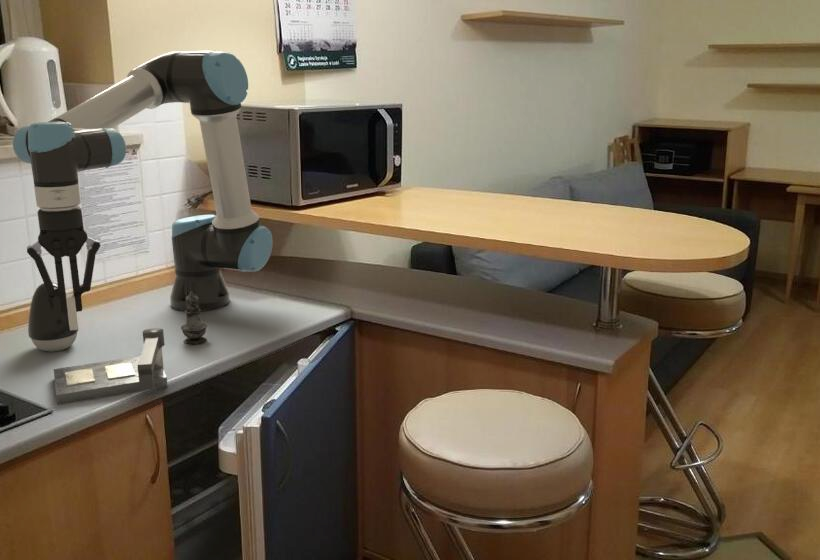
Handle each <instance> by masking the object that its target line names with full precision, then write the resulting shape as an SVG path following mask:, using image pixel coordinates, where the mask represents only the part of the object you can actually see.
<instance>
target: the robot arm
mask: <svg viewBox="0 0 820 560" xmlns="http://www.w3.org/2000/svg"><path fill="white" fill-rule="evenodd" d="M248 90H249V79H248V74H247V71H246V68H245V67H244V64H243V63H242V62H241V60H240V59H238V58H237V56H235V55H234V54H233V53H230V52H226V51H217V50H197V51H196V50H193V51H192V50H191V51H183V50H181V51H179V50H177V51H175V50H174V51H170V52H168V53H164V54H162V55H159V56H156V57H154V58H152V59H150V60H148V61H146V62H144V63H142V64H140V65H139V66H136V67H135V68H133V69H131V70H130V71H129V72H128V74H127V75H126V78H125V79H122V80H121V81H119V82H117V83H116V84H113V85H112V86H110V87H109V88H106V89H105V90H103V91H101V92H99V93H98V94H96V95H95V96H92V97H90V98H89V99H87V100H85V101H83V102H82V103H80V104H78V105H76V106H74V107H73V108H71V109H69V110H67V111H65V112H63V113H61V114H60V115H58V116H56V117H54V118H52V119H51V120H49V121H43V122H41V121H39V122H33V123H31V124H30V125H27V126H23V127H21V128H19V129H18V130H17V131H16V132H15V134H14V136H13V139H12V148H13V151H14V154H15V155H16V157H17V158H18V160H20V161H21V162H24V163H26V164H30V165H31V166H30V167H31V171H32V178H33V179H32V180H33V184H34V185H33V188H34V196H35V201H36V202H35V204H36V207H38V208H39V209H38V211H37V219H38V228H39V235H38V236H37V241H36V242H35V243H33V244H31V245H28V246H27V247H26V253H27V254H28V255H29V257H31V258H32V260H34V262H35V266H36V268H37V270H38V272H39V275H40V276H41V279H42V282H43V283H44V284H45V287H46V289H47V292H48V294H49V295H50V296H57V297H59V300H60V308H61V312H62V313H68V320H69V327H70V330H78V328H79V323H78V316H77V315H78V314H77V313H78V312H82V311H83V302H82V295H83V294H84V293H88V292H90V291H91V288H92V281H93V276H94V275H93V274H94V266H95V261H96V254H97V253H98V251H99V249H100V247H101V243H100V240H98V239H94V238H92V237H89V236H88V233H87V232H86V230H85V229H84V219H83V211H82V210H83V209H82V208H81V207H80V206H79V205H81V192H80V185H79V184H80V183H79V174H78V173H79V172H82V171H89V170H90V171H91V170H96V169H97V170H99V169H104V168H106V169H108V168H110V167H113V166H117V165H119V164H121V163H122V162H123V161H124V159H125V157H126V154H127V146H126V141H125V138H124V137H123V136H122V134H121V133H120V132H119V131H118V130H116V129H114V128H116V127H117V126H119V125H120V124H123V123H124V122H126V121H128V120H129V119H131V118H132V117H133V116H136V115H138V114H139V113H141V112H142V111H144V110H145V109H147V110H148V109H149V110H153V109H156V108H158V107H160V106H161V105H164V104H165V105H166V104H171V103H172V104H173V103H184V104H189V109H190V113H191V116H193V117H194V118H196V119H197V120H198V121H199V126H200V131H201V136H202V140H203V141H202V142H203V146H204V147H203V148H204V153H205V158H206V162H207V163H206V164H207V169H208V173H209V180H210V181H209V182H210V184H211V191H212V195H213V203H214V207H215V208H214V209H215V211H216V212H215V214H201V215H193V216H188V217H184V218H180V219H176V220H175V221H173V223H172V225H171V237H170V238H171V241H172V243H171V244H172V252H173V253H172V255H173V263H174V274H175V275H174V280H173V285H172V288H171V292H170V298H169V299H170V306H171V307H172V308H173V309H175V310H179V311H184V312H185V310H186V297H187V296H188V295H190V292H191V291H192V292H193V294H194V295H196V296H197V297H198V301H199V309H201V311H200V312H203V311H209V310H214V309H215V310H216V309H219V308H222V307H225V306H226V305H228V304H229V303H230V298H231V297H230V292H229V288H228V287H227V284H226V282H225V279H224V277H223V275H222V270H223V269H225V270H229V271H231V270H232V271H238V272H242V273H245V272H251V273H253V272H258V271H260V270H261V269H263V268H264V266H265V265H266V264H267V262H268V261H269V259H270V257H271V254H272V250H273V234H272V232H271V230H270V229H269V228H268V227H266V226H265V225H261V221H260V215H259V214H258V213H257V212H255V211H254V210H253V209H252V203H251V199H250V191H249V186H248V179H247V173H246V172H247V171H246V167H245V162H244V155H243V148H242V143H241V138H240V131H239V130H240V129H239V125H238V119H237V116H238V114H239V112H240V111H242V110H241V109H242V103H243V102H244V101H245V99H246V98H247V95H248V92H247V91H248ZM84 245H86V246H85V247H86V249H87V254H86V261H85V268H84V273H83V279H82V281H83V282H82V284H81V285H80V276H79V267H78V257H77V255H78V253H80V251H81V250H82V248H83V246H84ZM42 248H43V249H44V250H45V251H46V252H48V254H49V255H51V256H52V257H53V259H54V265H55V268H54V269H55V273H56V274H55V276H56V282H57V283H56V284H58V288H54V286H53V284H52V282H53V280H51V277H50V273H49V272H48V269H47V267H46V263H44V259H43V258H42V253H43V252H42ZM64 257H68V260H69V268H70V276H71V285H72V291H73V293H67V292H66V284H65V276H64V267H63V258H64ZM221 269H222V270H221ZM78 331H79V330H78Z"/></svg>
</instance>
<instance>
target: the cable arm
mask: <svg viewBox="0 0 820 560" xmlns="http://www.w3.org/2000/svg"><path fill="white" fill-rule="evenodd" d="M142 339H143V341H142V342H143V346H142V349H141V353H140V355H139V356H140V358H139V361H138V365H137V366H138V376H139V386H140V390H144V391H149V390H155V389H154V382H153V369H154V365H155V361H156V357H157V353H158V349H159V348H160V347H162V348H163V347H164V346H165V345H166V343H165V333H164V329H163V328H160V327H151V328H146V329H144V330H143V331H142Z"/></svg>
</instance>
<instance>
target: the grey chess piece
mask: <svg viewBox="0 0 820 560" xmlns="http://www.w3.org/2000/svg"><path fill="white" fill-rule="evenodd" d="M184 312H185V313H186V321H185V323H184V324H183V325H181V326H180V330H182V333H183V335H184V336H185V337H186V338H185V339H184V340H183V344H184V345H187V346H198V345H199V346H200V345H203V344H204V343H207V342H208V339H207V337H204V335H205V333H206V331H207V328H208V324H206V323H205V322H203V321H202V320H201V313H200V312H202V311H201V309H199V301H198V297H197V296H196V295H194V294H193V292H192V291H191V292H190V295H188V296H187V297H186V310H185V311H184Z"/></svg>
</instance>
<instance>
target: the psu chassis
mask: <svg viewBox="0 0 820 560" xmlns="http://www.w3.org/2000/svg"><path fill="white" fill-rule="evenodd" d="M139 358H140V355H139V356H133V357H126V358H120V359H119V358H118V359H113V360H108V361H107V360H106V361H100V362H93V363H87V364H80V365H79V364H78V365H75V366H74V365H73V366H72V365H71V366H66V367H60V368H53V374H54V375H53V376H54V384H55V392H56V401H57V402H56V403H57V406H59V405H65V404H71V403H78V402H83V401H88V400H96V399H101V398H107V397H108V398H109V397H113V396H119V395H125V394H131V393H132V394H133V393H137V392H143V391H145V390H140V386H139V376H138V366H137V365H138V361H139ZM163 358H164V357H163V346H162V347H160V348H159V349H158V353H157V357H156V361H155V365H154V369H153V382H154V389H153V390H156V389H160V388H168V386H169V385H168V377H167V374H166V372H165V369H164V368H165V367H164V359H163Z"/></svg>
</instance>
